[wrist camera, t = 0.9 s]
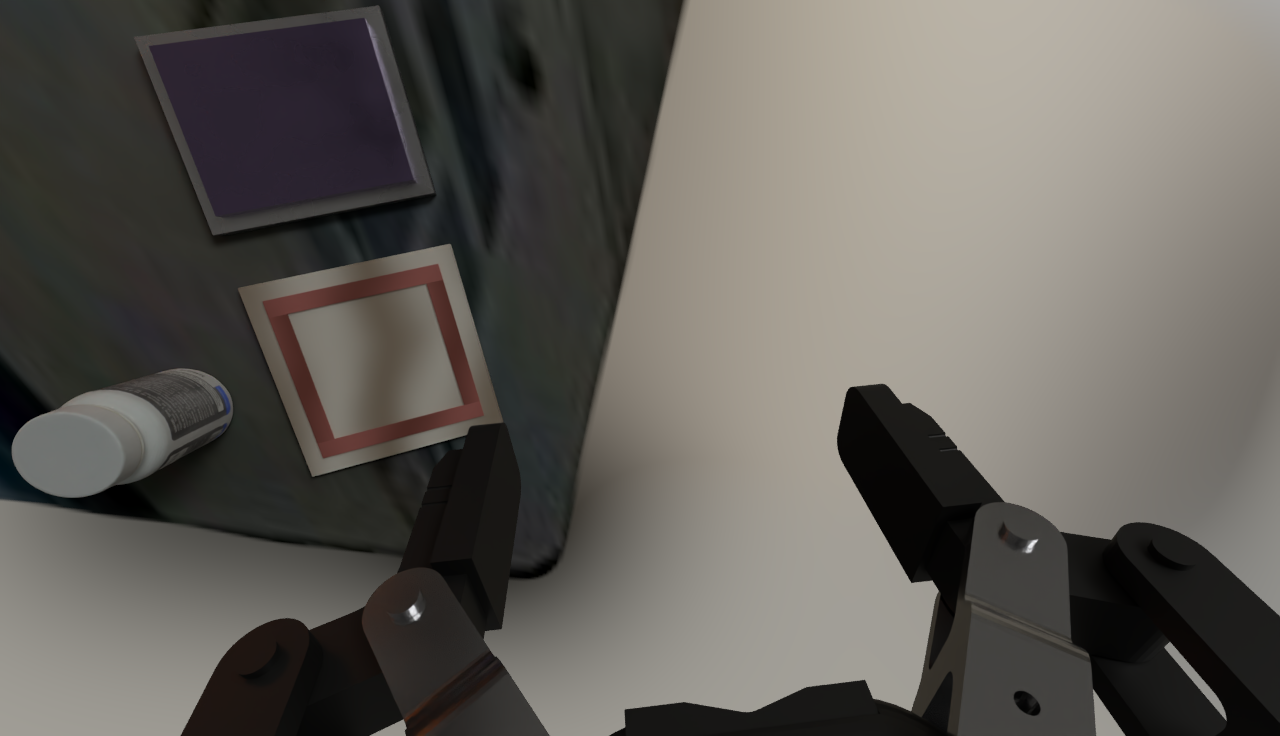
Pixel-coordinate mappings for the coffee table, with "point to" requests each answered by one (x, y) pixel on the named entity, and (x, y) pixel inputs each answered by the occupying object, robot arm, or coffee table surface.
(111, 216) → the coffee table surface
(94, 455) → the pill bottle
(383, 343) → the marked board
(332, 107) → the ink pad
